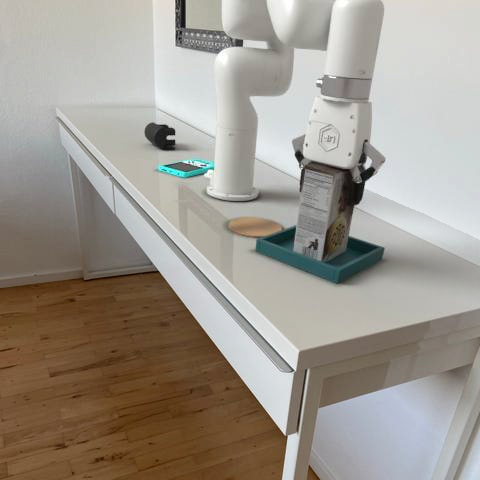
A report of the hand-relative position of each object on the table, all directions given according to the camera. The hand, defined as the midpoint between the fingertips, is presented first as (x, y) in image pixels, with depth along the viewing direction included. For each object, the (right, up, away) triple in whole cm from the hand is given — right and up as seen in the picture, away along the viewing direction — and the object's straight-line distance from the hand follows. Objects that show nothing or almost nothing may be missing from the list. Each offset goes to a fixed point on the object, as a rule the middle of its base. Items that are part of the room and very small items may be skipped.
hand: (328, 198), depth 87 cm
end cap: (-41, +35, +77) cm, 94 cm away
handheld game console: (-29, +21, +54) cm, 65 cm away
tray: (-1, -9, +5) cm, 11 cm away
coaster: (-12, -2, +16) cm, 20 cm away
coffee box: (-1, -9, +5) cm, 11 cm away
